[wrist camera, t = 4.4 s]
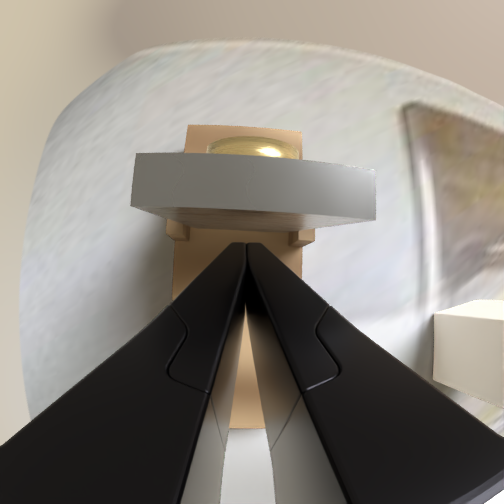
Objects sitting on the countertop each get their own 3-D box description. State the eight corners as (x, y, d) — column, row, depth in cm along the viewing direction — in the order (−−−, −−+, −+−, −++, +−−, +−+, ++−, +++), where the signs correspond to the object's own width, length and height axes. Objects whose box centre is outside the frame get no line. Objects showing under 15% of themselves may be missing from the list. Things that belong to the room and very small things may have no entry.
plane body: (282, 407, 18) (300, 446, 12) (180, 404, 17) (166, 443, 12) (291, 151, 20) (311, 111, 14) (193, 145, 19) (182, 103, 14)
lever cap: (284, 232, 15) (375, 220, 5) (195, 228, 15) (130, 206, 5) (285, 198, 15) (373, 133, 5) (197, 194, 15) (142, 115, 5)
